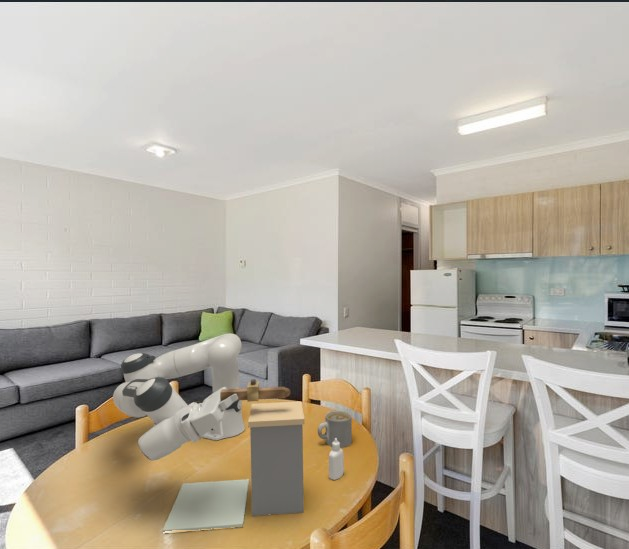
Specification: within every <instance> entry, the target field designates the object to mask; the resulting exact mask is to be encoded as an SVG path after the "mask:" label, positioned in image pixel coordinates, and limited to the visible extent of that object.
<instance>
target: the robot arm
mask: <svg viewBox="0 0 629 549" xmlns="http://www.w3.org/2000/svg"><path fill="white" fill-rule="evenodd" d="M242 345H243V344H242V341H241V337H240V336H238V335H237V334H235V333H224V334H221V335H218V336H215V337H211V338H208V339H206V340H203V341H200V342H197V343H195V344H191V345H189V346H188V345H187V346H184V347H181V348H178V349H175V350H171V351H168V352H165V353H163V354H161V355H160V356H158V357H156V356H155V355H151V354H149V353H145V352H139V353H134V354H131V355H130V356H128V357H126V358H125V359H124V360H123V361H122V362H121V364H120V368H121V369H120V370H121V373H122V375H123V378H124V381H125V382H122V383H121V384H119V385H118V386H117V387H116V388H115V389H114V391H113V394H112V400H113V403H114V405H115V407H117V409H118V410H119V411H121V412H122V413H123V414H125V415H126V416H130V417H132V418H143V417H146V416H147V417H148V418H149V419H150V420H151V421H152V422H153V426H152V427H151V428H150V429H149V430H147V431H146V432H144V433H143V434H142V435H141V436H140V437H139V438H138V442H137V443H138V447H139V450H140V452H141V453H142V454H143V456H145V458H147V460H150V461H158V460H161V459H162V458H165V457H167V456H169V455H170V454H172V453H174V452H176V451H177V450H178V449H180V448H181V447H182V446H183V445H184V444H185V443H188V442H191V441H192V443H195V444H196V442H198V441H199V440H201V438H203V439H204V438H205V439H209V440H213V441H220V440H222V439H223V440H224V439H226V438H231V437H234V436H235V437H236V436H238V435H240V434H242V433H243V432H244V431H245V430H246V427H245V423H244V420H243V414H242V407H243V406H242V401H243V400H238V398H239V396H238V394H237V393H234V394H232V395H230V397H228V398H227V399H225V400H223V401H221V399H220V392H221V390H222V389H241V374H240V371H239V366H238V357H239V354H240V353H241V351H242V347H243V346H242ZM208 368H210V374H211V379H212V383H211V384H212V393H211V394H210V395H209V396H208V397H205V399H204V400H203V401H202V402H199V403H197V402H195V401H193V402H191V403H189V404H188V403H186V401H185V400H184V399H183V397H181V395H180V394H179V393H178V392H177V391H176V390H175V389H174V388H173V387H172V385H171V384H170V382H169V381H168V380H171V379H177V378H181V377H184V376H188V375H191V374H194V373H198V372H201V371H204V370H206V369H208ZM236 400H237V401H236Z"/></svg>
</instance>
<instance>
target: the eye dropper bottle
mask: <svg viewBox="0 0 629 549" xmlns="http://www.w3.org/2000/svg"><path fill="white" fill-rule="evenodd" d="M344 469H345V468H344V450H343V448H340V443H339V442H338V441H337V438H335V441H334V442H332V448H331V450H330V451H329V454H328V478H329V479H330V480H335V481H336V480H339V479H340V478H342V477H343V474H344V471H345V470H344Z"/></svg>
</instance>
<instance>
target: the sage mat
mask: <svg viewBox="0 0 629 549" xmlns="http://www.w3.org/2000/svg"><path fill="white" fill-rule="evenodd" d="M249 485H250V479H249V478H246V479H231V480H229V479H228V480H219V481H218V480H216V481H204V482H203V481H200V482H189V483H187V482H186V483H182V485H181V487H180V489H179V491H178V494H177V496H176V499H175V502H173V506H172V508H171V511H170V512H169V515H168V517H167V520H166V522H165V524H164V526H163V528H162V533H163V532H165V531H172V530H199V529H200V530H201V529H211V528H212V529H214V528H231V527H241V526H243V527H244V524H243V522H245V516H246V509H245V508H246V507H247V501H248V494H247V493H249ZM244 515H245V516H244Z"/></svg>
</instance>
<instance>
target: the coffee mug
mask: <svg viewBox="0 0 629 549" xmlns="http://www.w3.org/2000/svg"><path fill="white" fill-rule="evenodd" d="M324 418H325V421H324V422H321V423H320V424H319V425H318V427H317V434H318V437H319V438H320V439H322V440H325V444H326V445H328V446H329V447H332V442H334V441H335V438H337V441H338V442H339V443H340V449H343V448H347V447H349V446H350V445H351V444H352V443H353V433H352V432H353V431H352V430H353V428H352V427H353V426H352V424H353V422H352V420H353V419H352V414H351V413H350V412H348V411H345V410H331V411H328V412H327V413H326V414H325V417H324ZM324 428H325V433H324V434H323V433H322V431H323V429H324Z"/></svg>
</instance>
